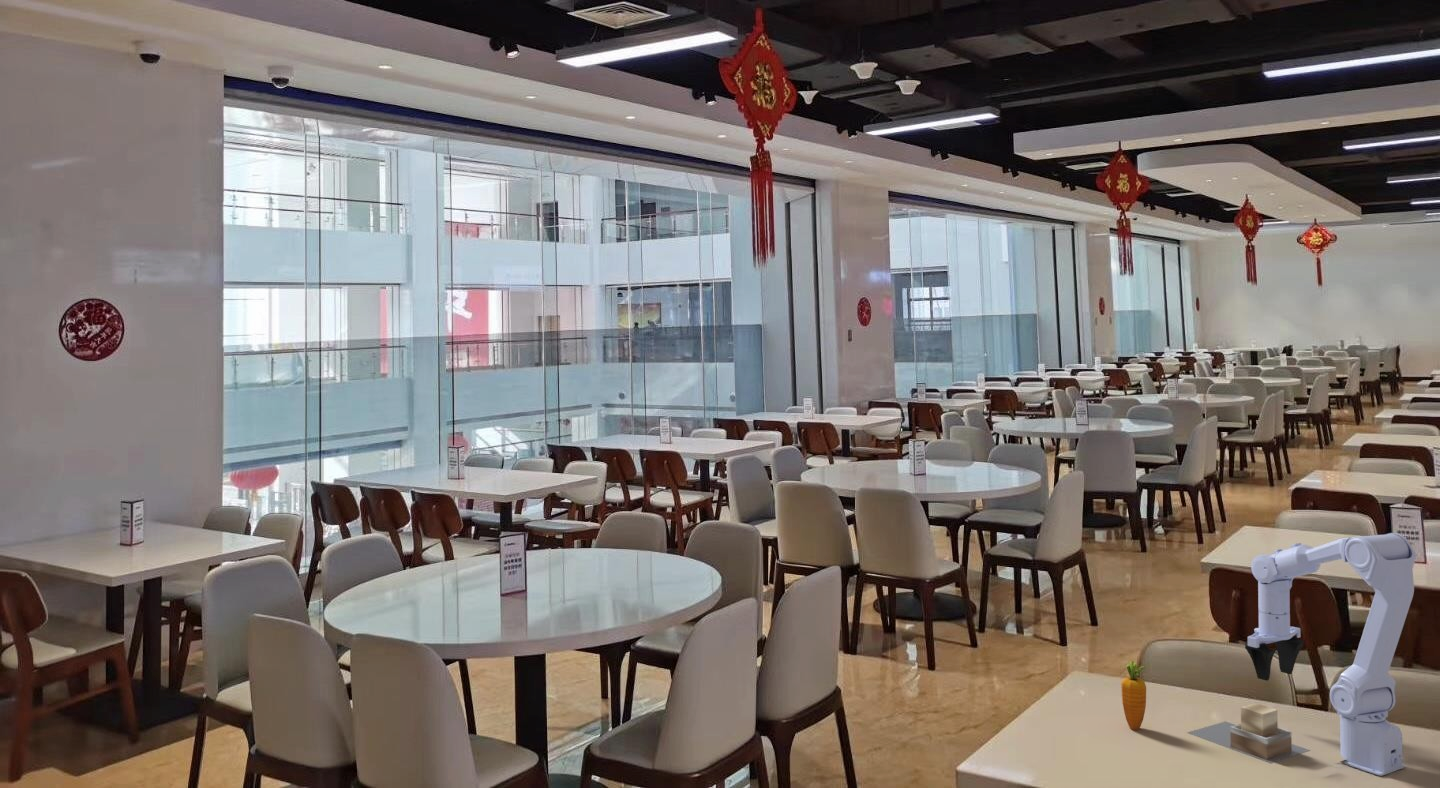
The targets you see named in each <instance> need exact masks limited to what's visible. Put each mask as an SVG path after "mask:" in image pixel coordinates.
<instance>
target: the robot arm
mask: <svg viewBox="0 0 1440 788" xmlns="http://www.w3.org/2000/svg"><path fill="white" fill-rule="evenodd" d="M1416 559H1417V552H1416V551H1415V550H1414V548H1413V546H1412V545H1411V543H1410V541H1409V540H1408V539H1407V537H1405V536H1404V535H1403V534H1400V533H1396V532H1390V533H1389V532H1388V533H1385V534H1375V535H1363V536H1360V535H1358V536H1353V537H1343V538H1339V539H1336V540H1333V541H1330V542H1327V543H1325V544H1324V543H1323V544H1321V545H1318V546H1315V547H1312V546H1310V545H1308V544H1302V543H1301V542H1297V543H1293V544H1290V547H1289V548H1288V549H1287V548H1286V549H1282V548H1281V549H1280V548H1279V549H1276V550H1273V553H1271V554H1270V553H1269V554H1258V555H1257V556H1255V557H1254V558H1253V559H1252V561H1251V565H1250V567H1251V573H1252V575H1253V577H1254V578H1255V579H1256V581H1257V582H1258V583H1257V588H1258V589H1257V591H1258V593H1257V595H1258V598H1257V599H1258V601H1257V602H1258V605H1257V606H1258V627H1255V628H1254V629H1253V630H1254V633H1253V634H1251V635H1248V636H1247V642H1245V644H1244V649H1245V650H1246V651H1247V653H1248V655H1249V657H1250V659H1251V661H1252V663H1253V667H1254V671H1255V674H1256V676H1257V679H1258V680H1263V681H1269V680H1270V677H1271V666H1272V662H1273V658H1274V655H1275V653H1276V651H1277V655H1278V666H1279V670H1280V673H1284V674H1287V675H1292V674H1293V671H1294V668H1295V664H1296V661H1297V658H1298V655H1299V653H1300V651H1301V650H1302V648H1303V647H1304V646H1305V641H1304V640H1303V639H1299V638H1301V636H1302V635H1301V628H1300V627H1297V626H1296V627H1295V626H1291V613H1290V611H1291V607H1290V606H1291V602H1290V601H1291V600H1290V599H1291V598H1290V595H1291V594H1290V593H1291V592H1290V590H1291V588H1292V587H1293V580H1294V579H1295V578H1298V577H1302V576H1306V575H1309V574H1314V573H1316V572H1318V570H1319V569H1320V567H1321V564H1325V563H1332V562H1334V561H1339V560H1342V562H1344V563H1348V564H1349V565H1350V567H1352V569H1353V570H1354V571H1355V572H1356V573H1357V575H1359V576H1360V577H1361V579H1363V580H1364V581H1365V583H1366V584H1367V585H1368V586H1369V587H1371V588H1373V590H1374V592H1375V593H1374V595H1373V599H1372V603H1371V605H1370V608H1369V611H1368V615H1367V618H1366V621H1365V624H1364V628H1363V630H1362V635H1361V638H1360V641H1359V643H1358V648H1357V650H1356V653H1355V657H1354V660H1353V663H1352V665H1350V666H1349V667H1348V668H1346V669H1345V670H1343V672H1341V674H1340V675H1339V678H1338V680H1337V681H1336V683H1334V684H1333V685H1332V686H1331V688H1330V690H1329V700H1330V703H1331V705H1332V707H1333V709H1335V711H1336V713H1337V715H1339V739H1340V740H1339V742H1340V743H1339V745H1340V753H1339V754H1340V756H1341V757H1342V758H1343V760H1341V761H1340V763H1341V764H1345V765H1347V766H1350V767H1353V768H1356V769H1358V770H1362V771H1365V772H1367V773H1370V774H1373V775H1376V776H1379V777H1380V776H1385V775H1388V774H1391V773H1393V772H1396V771H1399V770H1401V769H1404V768H1405V767H1406V765H1405V764H1404V763H1403V761H1404V759H1403V754H1404V753H1403V752H1404V751H1403V747H1404V746H1403V733H1402V730H1401V728H1400V726H1398V725H1396V724H1393V723H1391V722H1390V721H1388V720H1387V719H1386V718H1388V717H1389V712H1390V711H1391V710H1393V708H1394V707H1395V705H1396V694H1395V688H1396V684H1397V681H1396V680H1395V678H1393V676H1391V674H1389V672H1390V668H1391V666H1392V665H1391V664H1392V662H1393V659H1394V656H1395V652H1396V649H1397V646H1398V643H1399V641H1400V638H1401V634H1402V631H1403V628H1404V625H1405V622H1406V619H1407V615H1408V614H1409V613H1408V612H1409V609H1410V606H1411V604H1412V600H1413V597H1414V592H1415V583H1414V572H1413V571H1414V570H1413V568H1414V566H1415V563H1416ZM1273 643H1274V644H1275V646H1276V649H1274V648H1270V647H1269V646H1267V645H1268V644H1273Z"/></svg>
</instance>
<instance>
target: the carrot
mask: <svg viewBox="0 0 1440 788" xmlns="http://www.w3.org/2000/svg"><path fill="white" fill-rule="evenodd" d="M1138 665H1139V664H1137V663H1136V662H1135V661H1129V664H1128V663H1127V664H1126V669H1127V672H1128V675H1129V677H1126V678H1123V679H1122V680H1121V683H1120V688H1121V703H1122V707H1123V713H1124V715H1125V716H1124V717H1125V720H1126V722H1127V725H1128V727H1129V729H1130V730H1132V731H1138V730H1140V728H1141V727H1142V723H1143V721H1144V719H1145V713H1146V707H1147V705H1146V704H1147V685H1146V683H1145V681H1144V680H1143V679H1142V678H1139V675H1140V672H1141V671H1143V670H1144V669H1146V667H1145V666H1144V665H1141V666H1139V667H1138ZM1137 667H1138V669H1137Z"/></svg>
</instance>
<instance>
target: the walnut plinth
mask: <svg viewBox="0 0 1440 788" xmlns="http://www.w3.org/2000/svg"><path fill="white" fill-rule="evenodd" d="M1230 739H1231V747H1232V748H1235V749H1238V750H1240V751H1243V752H1246V753H1249V754H1251V755H1254V756H1257V757H1260V758H1262V759H1265V760H1269V759H1272V758H1275V757H1278V756H1281V755H1284V754H1287V753H1290V752H1292V744H1293V743H1292V731H1291V730H1289V729H1285V728H1282V727H1279V726H1278V734H1277V735H1273V736H1270V737H1267V738H1265V737H1262V736H1259V735H1256V734H1253V733H1250V732H1247V731H1244V730H1241V723H1239V724H1235V726H1231V727H1230Z"/></svg>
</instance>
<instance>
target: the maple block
mask: <svg viewBox="0 0 1440 788" xmlns="http://www.w3.org/2000/svg"><path fill="white" fill-rule="evenodd" d="M1240 724H1241V730H1244V731H1247V732H1250V733H1253V734H1256V735H1259V736H1262V737H1265V738H1267V737H1270V736H1273V735H1277V734H1278V727H1279V725H1278V709H1276V708H1274V707H1271V706H1266V705H1263V704H1261V703H1256V702H1254V703H1251V704H1248V705H1244V706H1241V707H1240Z"/></svg>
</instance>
